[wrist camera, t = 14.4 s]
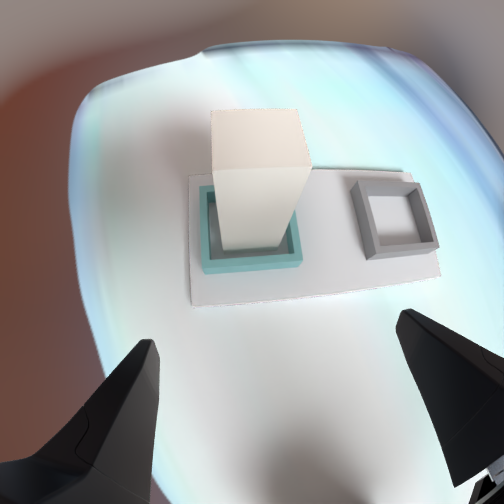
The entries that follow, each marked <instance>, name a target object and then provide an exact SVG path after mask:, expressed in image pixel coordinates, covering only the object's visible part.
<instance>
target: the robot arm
mask: <svg viewBox="0 0 504 504" xmlns="http://www.w3.org/2000/svg"><path fill="white" fill-rule="evenodd" d="M396 333H397V336H398V339H399V341H400V344H401V347H402V350H403V353H404V356H405V359H406V361H407V364H408V366H409V369H410V371H411V373H412V375H413V377H414V380H415V382H416V384H417V386H418V389H419V391H420V393H421V396H422V398H423V401H424V403H425V405H426V408H427V410H428V413H429V415H430V418H431V421H432V423H433V426H434V428H435V431H436V434H437V436H438V439H439V442H440V445H441V447H442V451H443V454H444V457H445V460H446V463H447V466H448V469H449V473H450V476H451V479H452V483H453V486H454V488H455V487H457V486H459V485H461V484H462V483H464V482H465V481H467V480H469V479H470V478H472V477H473V476H475V475H476V474H478V473H479V472H481V471H482V470H484V469H485V468H486V470H487V472H488V474H486V475H485V476H484V477H482V478H481V479H480V480H479V481H477V482H476V483H475V486H474V489H473V492H472V495H471V498H470V501H469V504H504V358H502V357H500V356H498V355H496V354H494V353H492V352H491V351H489V350H487V349H485V348H483V347H482V346H479V345H478V344H476V343H474V342H472V341H471V340H469V339H467V338H465V337H463V336H462V335H460V334H458V333H456V332H454V331H452V330H450V329H449V328H447V327H445V326H443V325H441V324H439V323H437V322H436V321H434V320H432V319H430V318H428V317H426V316H424V315H423V314H421V313H419V312H417V311H415V310H413V309H406V310H402V311H401V313H400V316H399V319H398V322H397V324H396ZM159 374H160V357H159V354H158V351H157V348H156V346H155V343H154V341H153V340H152V339H142V340H140V341H139V342H138V343H137V344H136V346H135V347H134V348H133V349H132V350H131V351H130V352H129V353H128V355H127V356H126V357H125V358H124V359H123V360H122V361H121V362H120V364H119V365H118V366H117V367H116V368H115V369H114V370H113V371H112V373H111V374H110V375H109V376H108V377H107V378H106V380H105V381H104V382H103V383H102V384H101V385H100V386H99V387H98V389H97V390H96V391H95V392H94V393H93V395H92V396H91V397H90V398H89V399H88V400H87V401H86V402H85V404H84V406H82V407H81V408H80V409H79V410H78V412H77V413H76V414H75V415H74V416H73V417H72V418H71V419H70V421H69V422H68V423H67V424H66V425H65V426H64V427H63V428H62V429H61V430H60V431H59V432H58V433H57V434H55V435H54V436H53V437H52V438H51V439H50V440H49V441H48V442H47V443H46V444H45V445H44V446H43V447H42V448H41V449H40V450H38V451H37V452H36V453H35V454H33V455H32V456H29V457H27V458H24V459H19V460H13V461H7V462H1V463H0V504H150V503H149V502H150V487H151V473H152V460H153V449H154V439H155V429H156V420H157V412H158V404H159Z"/></svg>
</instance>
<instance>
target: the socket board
mask: <svg viewBox="0 0 504 504" xmlns="http://www.w3.org/2000/svg"><path fill="white" fill-rule="evenodd" d="M438 248H439V243H438V240H437V236H436V232H435V229H434V225H433V222H432V219H431V216H430V212H429V209H428V206H427V203H426V200H425V197H424V194H423V192H422V189H421V186H420V183H415V182H414V180H413V177H412V174H411V173H405V172H390V171H370V170H332V169H311V171H310V174H309V176H308V179H307V181H306V184H305V186H304V188H303V191H302V193H301V195H300V198H299V200H298V203H297V205H296V207H295V210H294V212H293V214H292V217H291V219H290V221H289V224H288V226H287V228H286V231H285V233H284V235H283V238H282V240H281V242H280V245H279V247H278V249H277V251H264V252H251V253H238V254H225V255H224V253H223V247H222V240H221V233H220V226H219V218H218V211H217V204H216V196H215V188H214V181H213V174H202V175H191V176H189V259H190V283H191V302H192V307H193V308H200V307H215V306H228V305H241V304H253V303H263V302H274V301H284V300H293V299H302V298H311V297H319V296H327V295H335V294H342V293H350V292H357V291H364V290H371V289H377V288H384V287H390V286H396V285H402V284H408V283H414V282H420V281H425V280H431V279H436V278H438V277H441V272H440V268H439V263H438V259H437V255H436V251H435V250H436V249H438Z"/></svg>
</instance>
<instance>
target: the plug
mask: <svg viewBox="0 0 504 504" xmlns="http://www.w3.org/2000/svg"><path fill="white" fill-rule="evenodd" d="M211 144H212V173H213V181H214V188H215V196H216V204H217V211H218V218H219V226H220V233H221V240H222V247H223V253H224V255H225V254H238V253H251V252H264V251H277V249H278V247H279V245H280V242H281V240H282V238H283V235H284V233H285V231H286V228H287V226H288V224H289V221H290V219H291V217H292V214H293V212H294V210H295V207H296V205H297V203H298V200H299V198H300V195H301V193H302V191H303V188H304V186H305V184H306V181H307V179H308V176H309V174H310V171H311V169H312V163H311V159H310V155H309V151H308V147H307V144H306V140H305V136H304V133H303V129H302V125H301V122H300V118H299V115H298V112H297V109H238V110H220V111H211Z"/></svg>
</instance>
